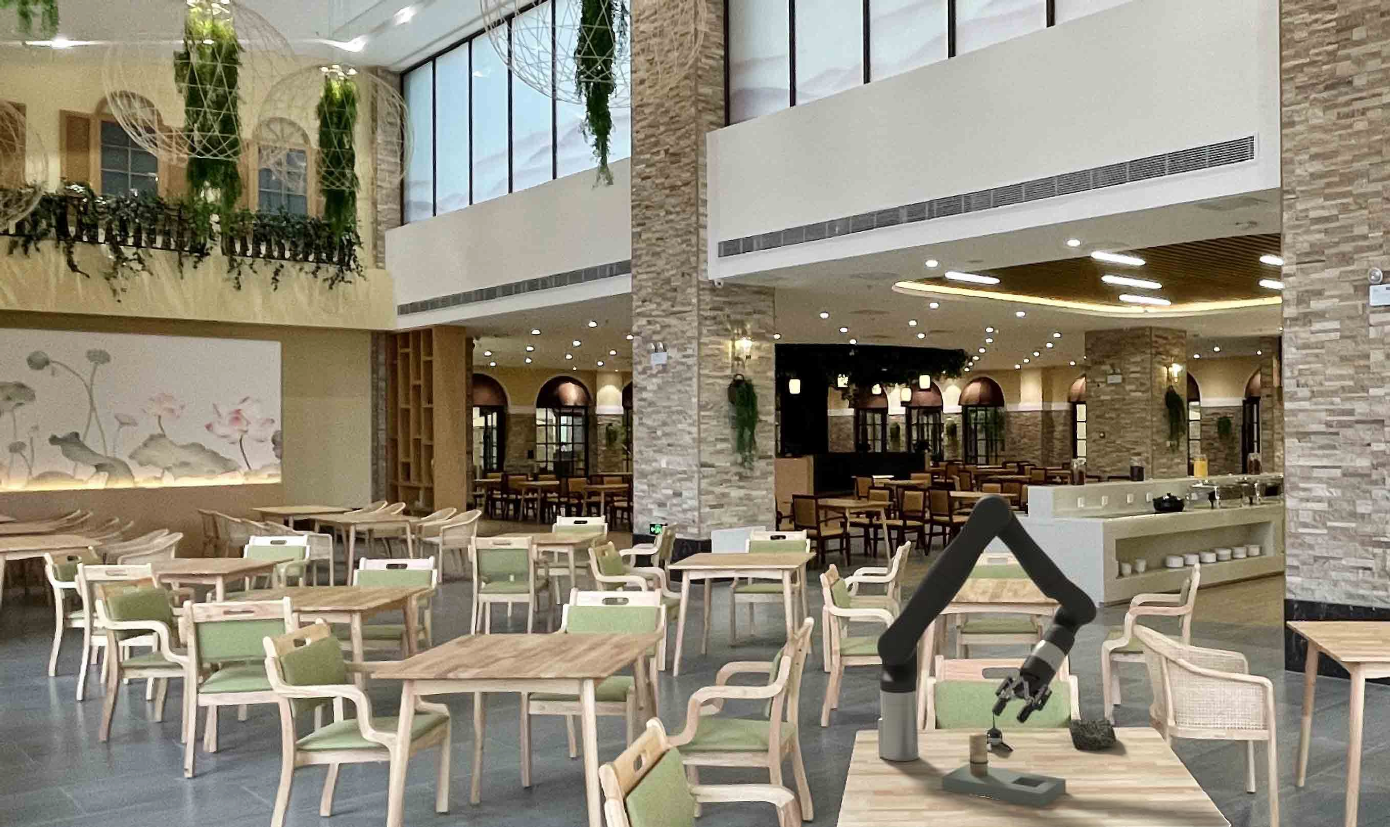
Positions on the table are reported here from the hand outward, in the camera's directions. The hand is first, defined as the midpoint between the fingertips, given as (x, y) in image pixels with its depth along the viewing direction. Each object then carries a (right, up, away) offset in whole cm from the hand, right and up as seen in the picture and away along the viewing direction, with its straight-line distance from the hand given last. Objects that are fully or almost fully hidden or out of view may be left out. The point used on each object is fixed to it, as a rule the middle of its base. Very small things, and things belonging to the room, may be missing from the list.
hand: (1007, 717), depth 282 cm
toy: (+6, -16, +34) cm, 38 cm away
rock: (+31, -16, +33) cm, 48 cm away
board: (-3, -15, -8) cm, 17 cm away
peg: (-8, -12, -4) cm, 15 cm away
